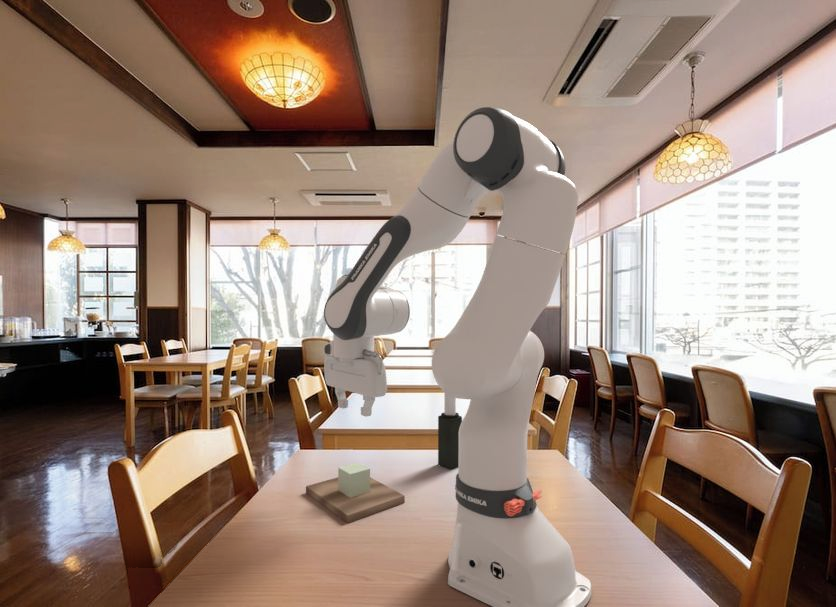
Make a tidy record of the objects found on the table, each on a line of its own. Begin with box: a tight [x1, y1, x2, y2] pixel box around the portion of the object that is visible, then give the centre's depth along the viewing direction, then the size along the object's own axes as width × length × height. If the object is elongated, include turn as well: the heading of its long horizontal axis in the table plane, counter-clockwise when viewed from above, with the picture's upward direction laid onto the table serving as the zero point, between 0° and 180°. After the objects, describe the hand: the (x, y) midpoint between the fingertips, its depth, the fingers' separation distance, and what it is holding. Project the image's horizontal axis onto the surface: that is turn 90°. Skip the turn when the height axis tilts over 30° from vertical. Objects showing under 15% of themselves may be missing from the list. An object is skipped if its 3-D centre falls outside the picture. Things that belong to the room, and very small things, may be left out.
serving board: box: [305, 476, 406, 524], centre depth 99 cm, size 18×14×2 cm
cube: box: [337, 462, 371, 498], centre depth 99 cm, size 5×5×5 cm
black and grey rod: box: [437, 392, 463, 470], centre depth 119 cm, size 5×5×25 cm
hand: (354, 411), depth 99 cm, fingers open, 8 cm apart
